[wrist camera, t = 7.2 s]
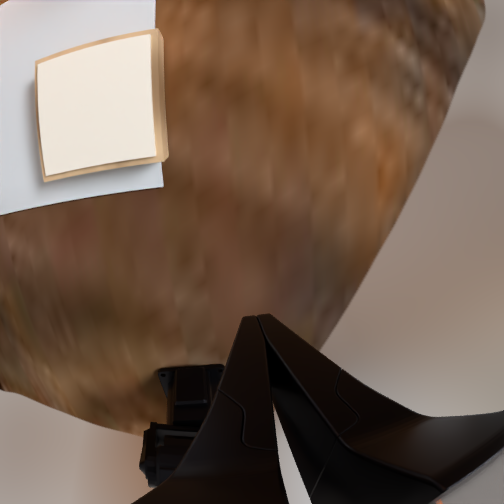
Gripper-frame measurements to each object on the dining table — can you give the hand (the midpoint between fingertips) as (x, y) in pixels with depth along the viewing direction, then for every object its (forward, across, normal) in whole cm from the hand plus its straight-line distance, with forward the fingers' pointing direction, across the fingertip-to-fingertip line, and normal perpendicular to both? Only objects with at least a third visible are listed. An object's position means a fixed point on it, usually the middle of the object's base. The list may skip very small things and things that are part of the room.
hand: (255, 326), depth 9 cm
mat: (+12, +12, -11) cm, 20 cm away
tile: (+11, +3, -8) cm, 14 cm away
